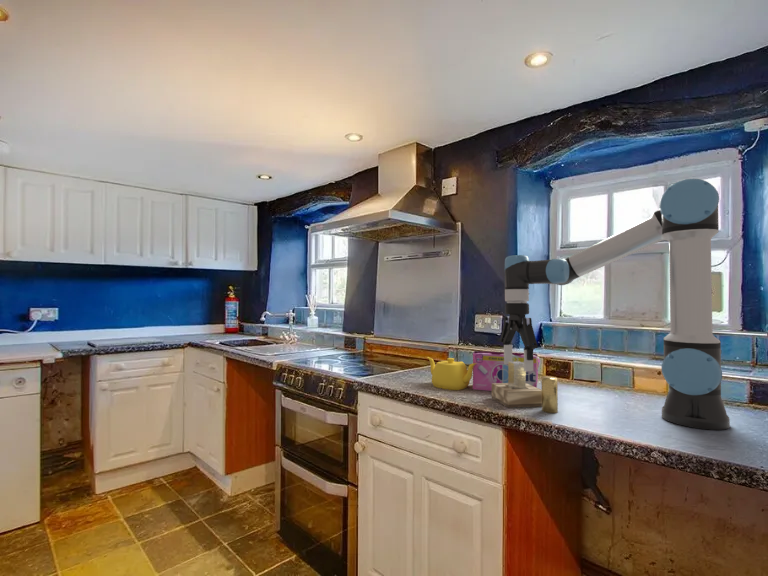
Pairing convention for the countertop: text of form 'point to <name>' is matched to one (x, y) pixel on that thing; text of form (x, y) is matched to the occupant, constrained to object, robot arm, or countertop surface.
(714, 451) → the countertop surface
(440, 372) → the teapot
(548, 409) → the round bit
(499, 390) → the bore block
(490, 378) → the gum box
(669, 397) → the robot arm
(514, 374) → the square bit
